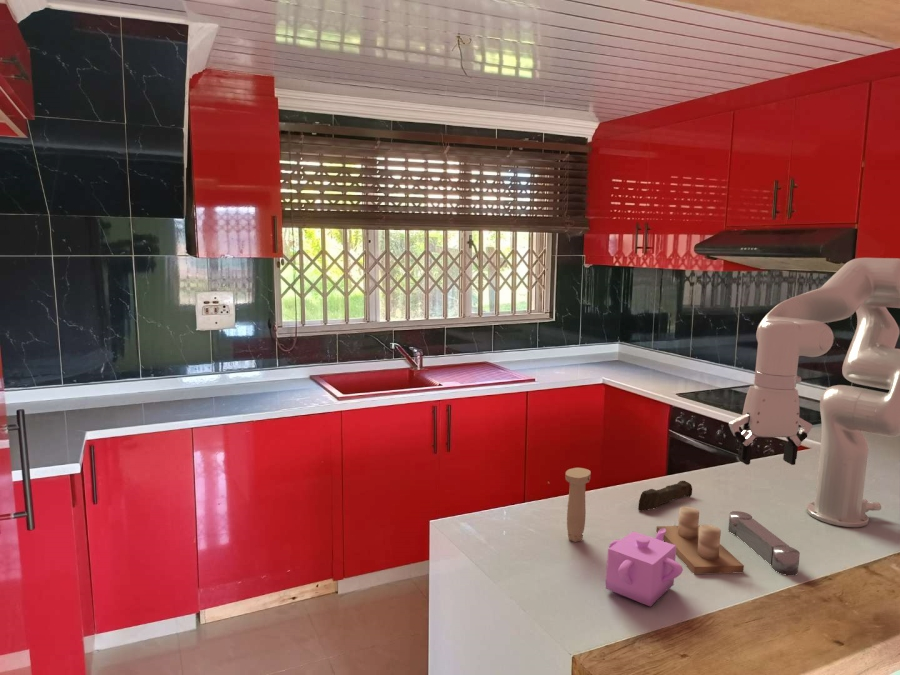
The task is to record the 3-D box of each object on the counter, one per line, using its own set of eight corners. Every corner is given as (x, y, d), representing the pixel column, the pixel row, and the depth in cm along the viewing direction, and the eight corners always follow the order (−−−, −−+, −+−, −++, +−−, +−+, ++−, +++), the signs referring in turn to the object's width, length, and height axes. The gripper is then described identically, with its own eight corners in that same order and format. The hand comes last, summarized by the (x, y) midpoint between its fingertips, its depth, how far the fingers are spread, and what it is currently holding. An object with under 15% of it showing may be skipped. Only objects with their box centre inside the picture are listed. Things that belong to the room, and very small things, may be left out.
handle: (558, 541, 136) (561, 474, 134) (571, 530, 141) (574, 466, 139) (579, 547, 133) (582, 479, 131) (591, 536, 138) (594, 470, 136)
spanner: (743, 527, 144) (745, 510, 144) (803, 575, 124) (804, 556, 123) (724, 528, 144) (725, 511, 143) (780, 576, 123) (782, 556, 123)
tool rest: (699, 531, 142) (701, 501, 141) (743, 572, 124) (746, 538, 123) (656, 532, 141) (658, 502, 140) (694, 574, 123) (696, 540, 122)
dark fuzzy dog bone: (679, 493, 165) (680, 475, 164) (692, 498, 162) (693, 480, 161) (629, 508, 155) (630, 490, 154) (642, 514, 151) (643, 495, 151)
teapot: (631, 560, 128) (634, 512, 127) (700, 585, 119) (704, 534, 118) (586, 595, 115) (588, 543, 114) (660, 627, 106) (663, 570, 105)
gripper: (803, 378, 133) (795, 457, 136) (724, 377, 132) (717, 456, 134) (827, 386, 126) (818, 469, 128) (743, 384, 125) (736, 468, 127)
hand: (766, 462), depth 131 cm, fingers open, 9 cm apart
